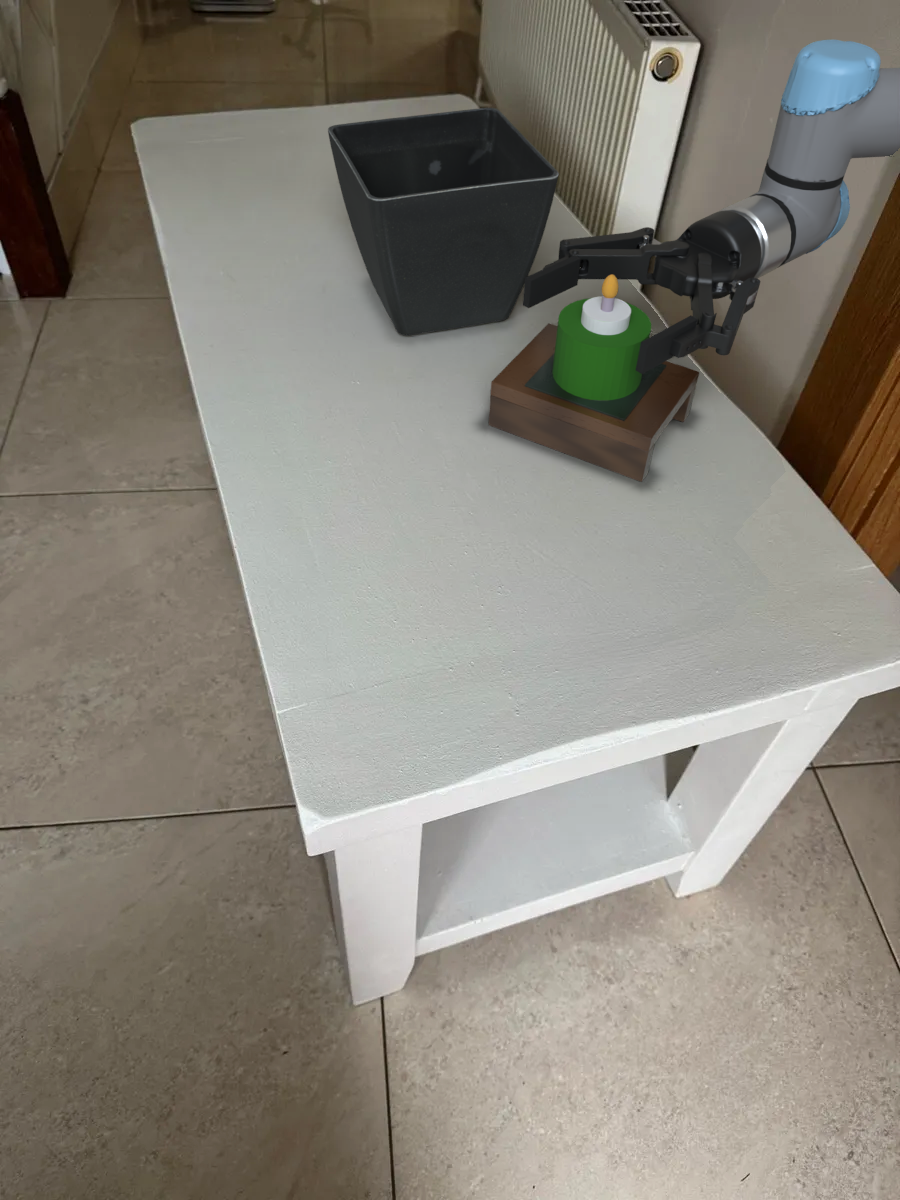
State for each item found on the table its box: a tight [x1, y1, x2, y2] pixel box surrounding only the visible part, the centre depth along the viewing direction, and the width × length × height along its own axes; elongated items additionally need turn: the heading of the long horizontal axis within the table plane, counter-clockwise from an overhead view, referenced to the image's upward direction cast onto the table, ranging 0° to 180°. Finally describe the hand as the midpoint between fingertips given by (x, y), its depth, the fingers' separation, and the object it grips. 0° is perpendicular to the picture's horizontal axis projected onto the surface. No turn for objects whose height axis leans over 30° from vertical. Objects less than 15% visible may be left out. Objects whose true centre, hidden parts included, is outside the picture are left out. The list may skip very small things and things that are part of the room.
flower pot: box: [327, 107, 560, 336], centre depth 99 cm, size 19×19×17 cm
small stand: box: [488, 322, 700, 483], centre depth 89 cm, size 16×12×5 cm
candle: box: [552, 274, 652, 401], centre depth 83 cm, size 8×8×10 cm
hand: (581, 324), depth 81 cm, fingers open, 13 cm apart
